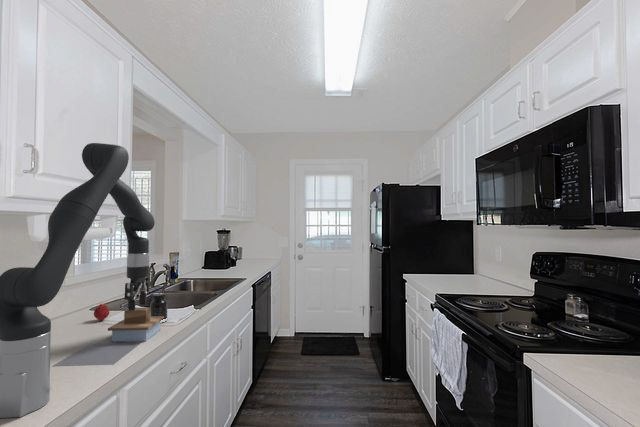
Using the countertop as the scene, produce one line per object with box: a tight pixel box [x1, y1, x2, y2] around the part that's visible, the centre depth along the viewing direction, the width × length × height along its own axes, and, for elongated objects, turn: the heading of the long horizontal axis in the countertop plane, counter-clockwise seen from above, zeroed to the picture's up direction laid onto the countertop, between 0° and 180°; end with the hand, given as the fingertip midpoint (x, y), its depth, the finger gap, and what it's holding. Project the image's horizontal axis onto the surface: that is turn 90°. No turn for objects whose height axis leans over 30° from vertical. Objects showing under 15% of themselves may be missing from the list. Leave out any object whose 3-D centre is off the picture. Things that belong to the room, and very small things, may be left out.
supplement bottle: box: [149, 293, 168, 320], centre depth 143 cm, size 7×7×12 cm
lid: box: [107, 307, 164, 332], centre depth 124 cm, size 14×14×6 cm
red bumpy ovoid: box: [93, 302, 110, 322], centre depth 144 cm, size 6×6×8 cm
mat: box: [52, 342, 142, 367], centre depth 107 cm, size 18×18×1 cm
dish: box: [111, 321, 161, 343], centre depth 124 cm, size 12×12×5 cm
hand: (137, 307), depth 124 cm, fingers open, 8 cm apart
